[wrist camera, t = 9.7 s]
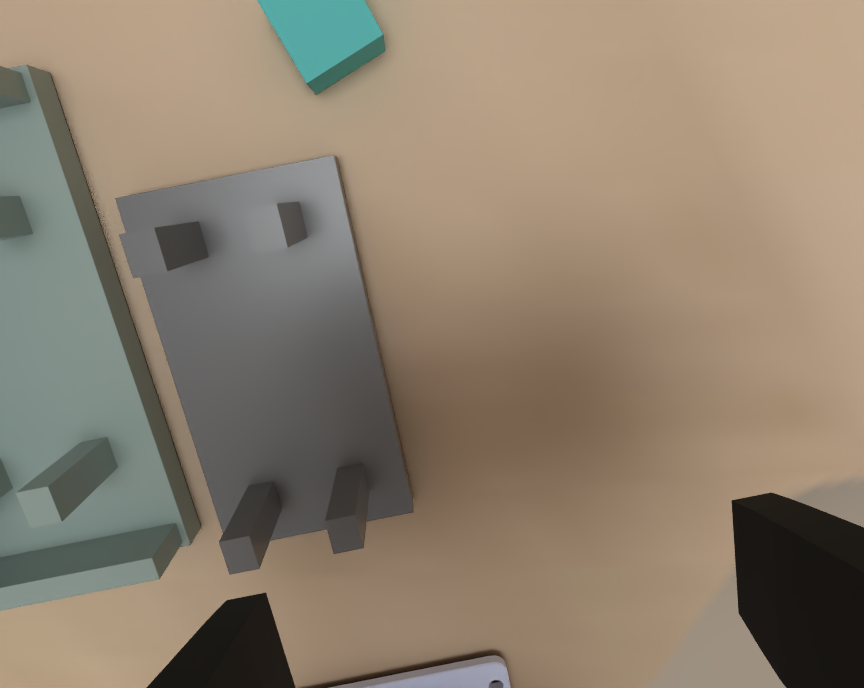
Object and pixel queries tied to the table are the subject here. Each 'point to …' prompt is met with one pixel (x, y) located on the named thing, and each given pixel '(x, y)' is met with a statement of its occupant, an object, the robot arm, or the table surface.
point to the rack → (72, 381)
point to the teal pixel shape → (325, 36)
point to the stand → (272, 353)
